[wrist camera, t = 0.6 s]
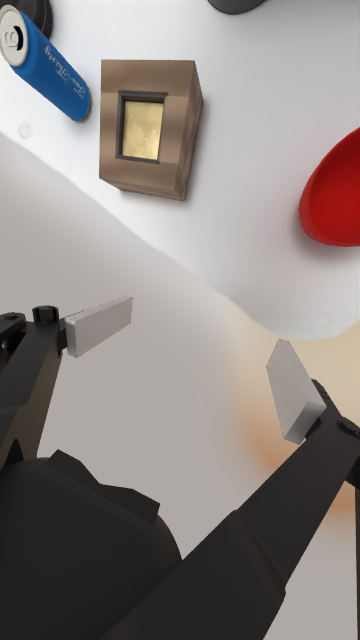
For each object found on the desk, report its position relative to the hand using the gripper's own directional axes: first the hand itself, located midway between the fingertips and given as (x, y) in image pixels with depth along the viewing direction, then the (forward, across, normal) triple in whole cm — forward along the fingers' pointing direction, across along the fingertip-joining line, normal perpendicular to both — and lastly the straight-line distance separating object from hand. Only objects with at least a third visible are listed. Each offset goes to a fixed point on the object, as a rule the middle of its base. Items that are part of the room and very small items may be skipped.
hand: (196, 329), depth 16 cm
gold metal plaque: (+22, -19, +22) cm, 37 cm away
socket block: (+26, -19, +22) cm, 39 cm away
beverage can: (+27, -37, +28) cm, 54 cm away
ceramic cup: (+27, +15, +18) cm, 36 cm away
